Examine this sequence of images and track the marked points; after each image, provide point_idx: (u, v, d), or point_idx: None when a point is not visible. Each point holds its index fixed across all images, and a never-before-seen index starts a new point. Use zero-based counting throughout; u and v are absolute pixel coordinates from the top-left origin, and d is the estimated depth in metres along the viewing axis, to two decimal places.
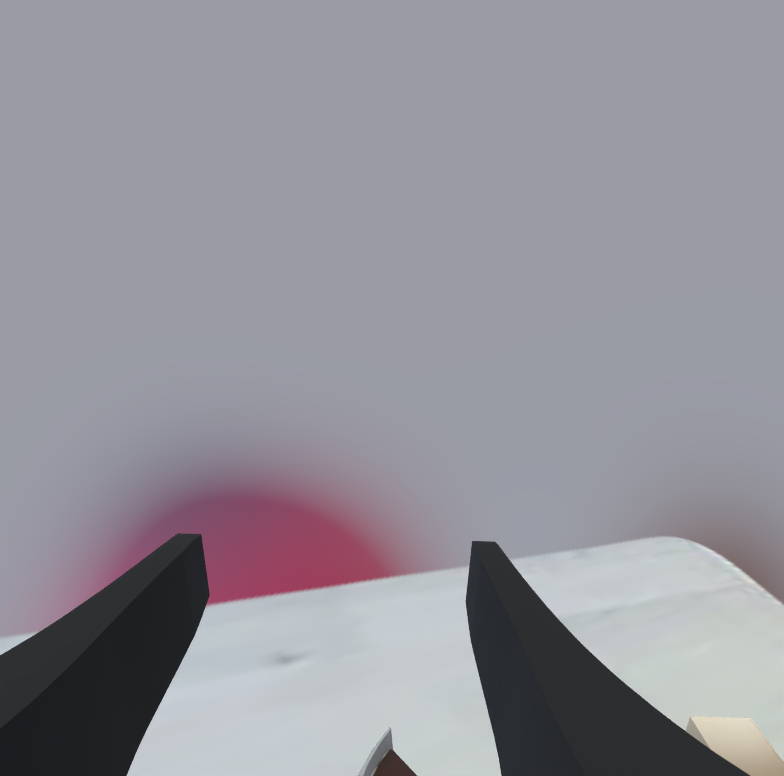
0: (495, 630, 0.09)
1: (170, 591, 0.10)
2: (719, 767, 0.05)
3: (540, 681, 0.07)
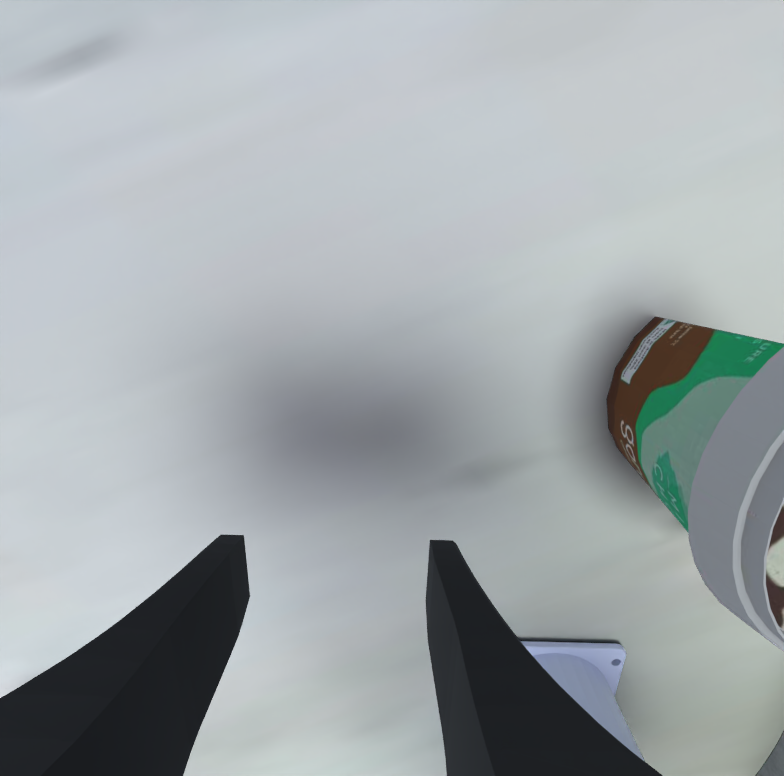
0: (443, 629, 0.09)
1: (219, 592, 0.10)
2: (631, 765, 0.05)
3: (471, 679, 0.07)
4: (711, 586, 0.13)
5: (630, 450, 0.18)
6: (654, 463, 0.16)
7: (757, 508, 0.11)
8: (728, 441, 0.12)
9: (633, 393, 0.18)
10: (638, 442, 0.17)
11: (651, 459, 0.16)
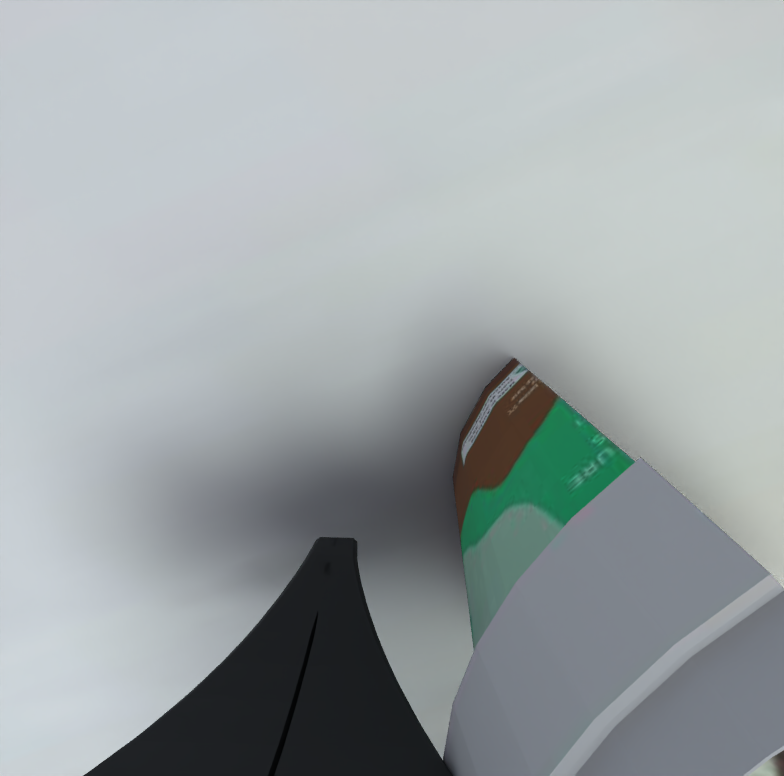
0: None
1: None
2: (421, 760, 0.05)
3: (306, 676, 0.07)
4: None
5: None
6: None
7: None
8: (483, 707, 0.05)
9: (464, 482, 0.11)
10: None
11: None
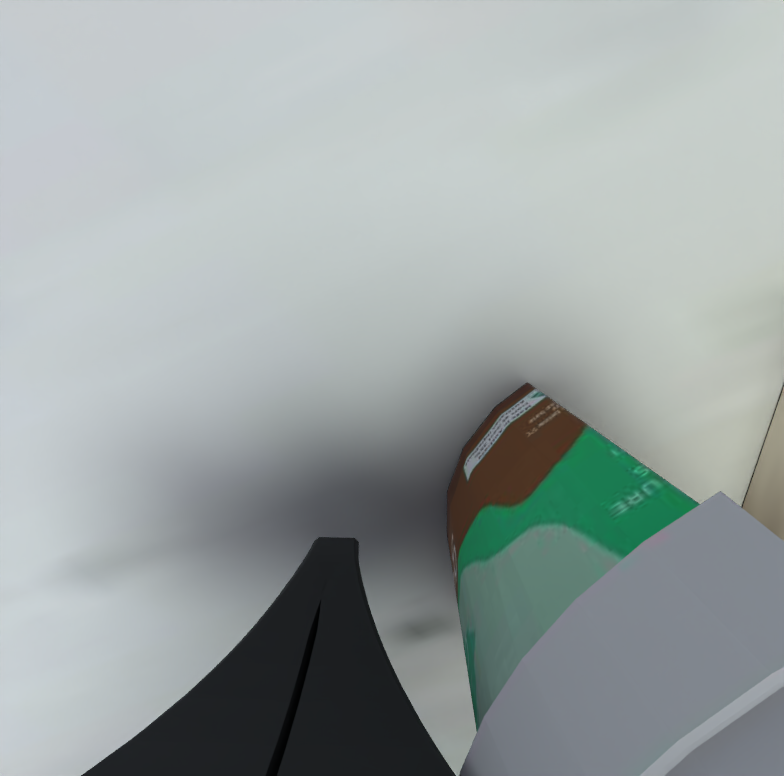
0: None
1: None
2: (424, 760, 0.05)
3: (309, 675, 0.07)
4: None
5: (455, 584, 0.12)
6: (465, 634, 0.09)
7: None
8: (528, 721, 0.05)
9: (467, 497, 0.11)
10: (458, 582, 0.10)
11: (463, 623, 0.10)
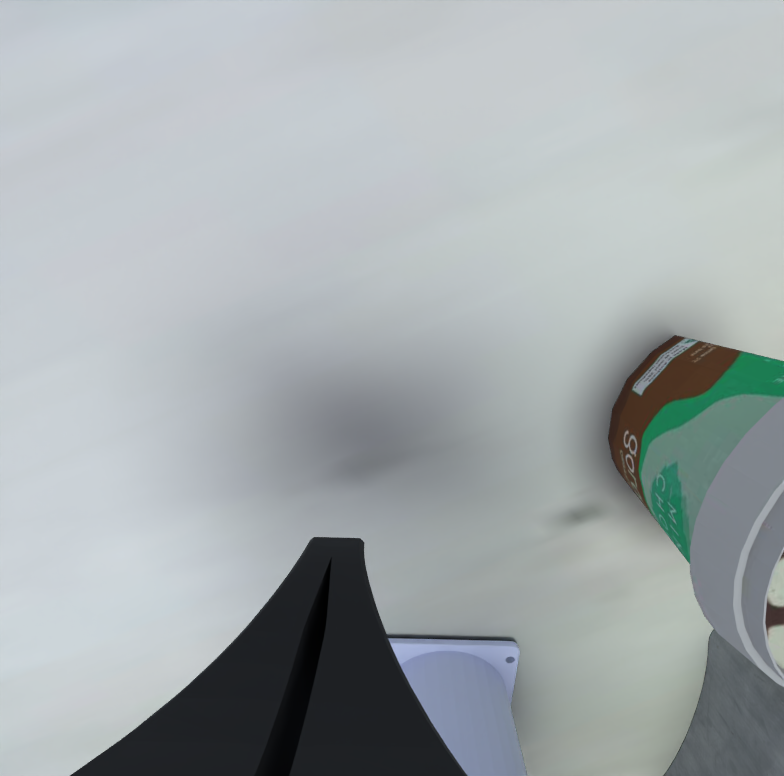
0: None
1: (326, 595, 0.10)
2: (436, 761, 0.05)
3: (318, 676, 0.07)
4: (702, 597, 0.13)
5: (630, 460, 0.18)
6: (657, 474, 0.16)
7: (774, 521, 0.11)
8: (753, 453, 0.12)
9: (644, 404, 0.18)
10: (642, 452, 0.17)
11: (654, 469, 0.16)
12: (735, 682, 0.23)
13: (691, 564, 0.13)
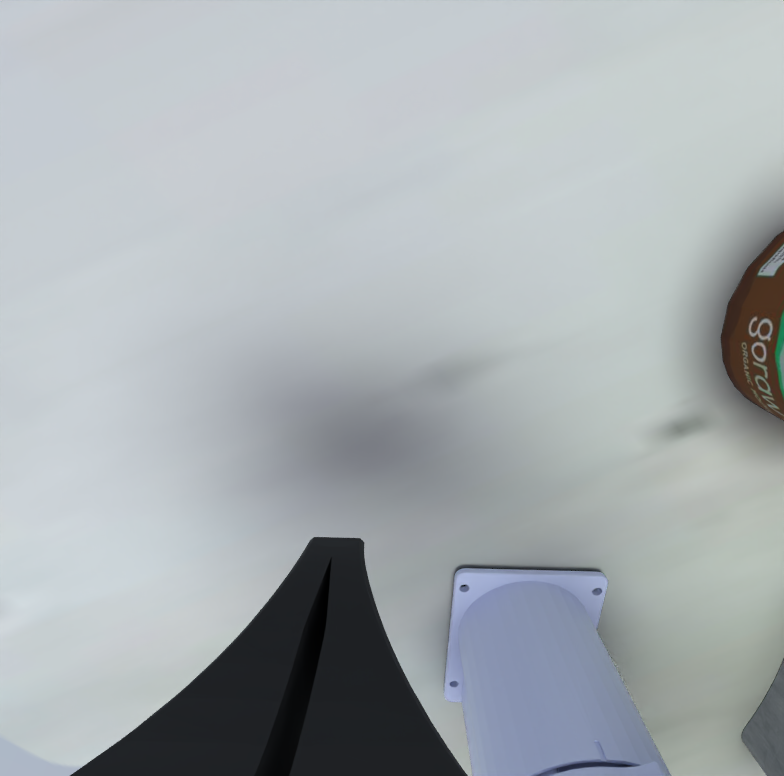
0: None
1: (326, 595, 0.10)
2: (436, 761, 0.05)
3: (318, 676, 0.07)
4: None
5: (760, 348, 0.17)
6: None
7: None
8: None
9: (781, 282, 0.16)
10: (782, 331, 0.16)
11: None
12: None
13: None
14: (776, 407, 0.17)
